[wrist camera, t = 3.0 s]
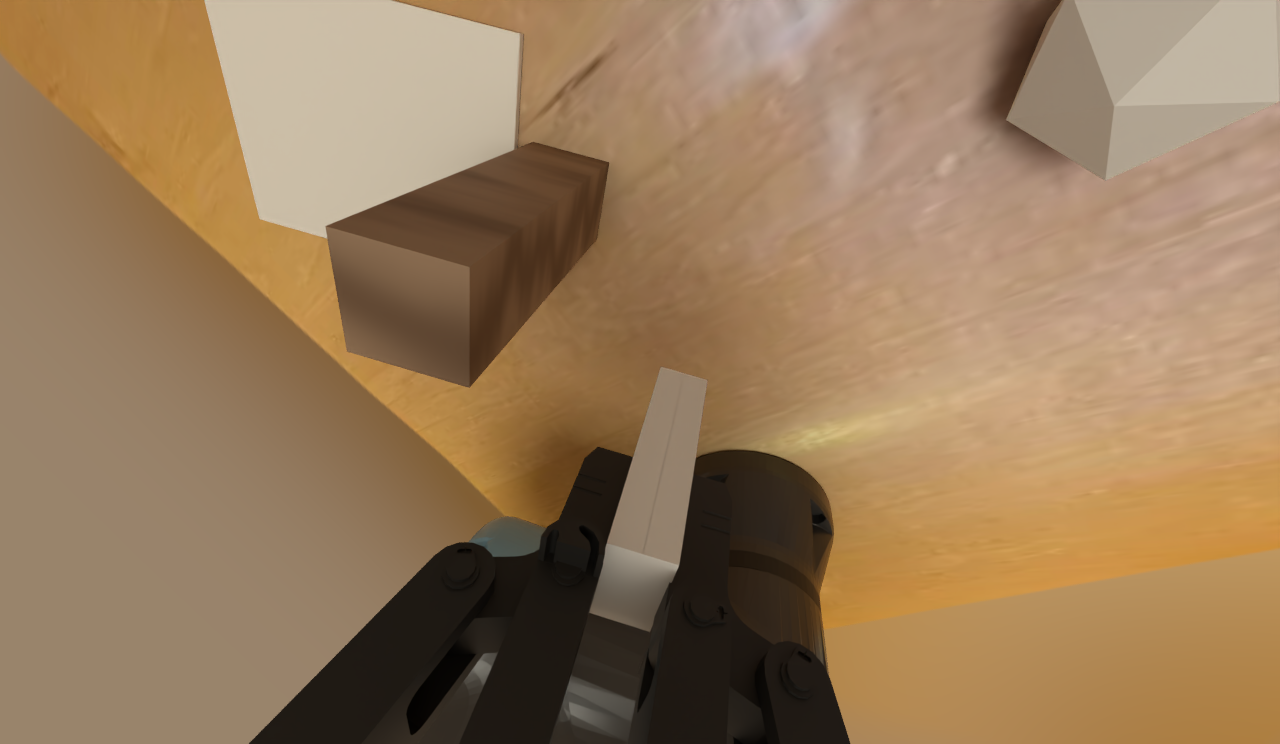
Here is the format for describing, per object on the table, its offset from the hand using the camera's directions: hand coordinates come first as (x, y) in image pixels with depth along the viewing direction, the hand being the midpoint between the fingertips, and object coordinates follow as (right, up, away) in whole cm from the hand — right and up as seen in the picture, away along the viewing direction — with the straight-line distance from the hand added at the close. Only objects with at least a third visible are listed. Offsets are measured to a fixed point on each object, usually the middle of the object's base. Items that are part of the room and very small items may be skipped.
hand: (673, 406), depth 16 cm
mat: (-19, +17, +17) cm, 30 cm away
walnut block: (-6, +13, +16) cm, 22 cm away
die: (+21, +16, +8) cm, 28 cm away
